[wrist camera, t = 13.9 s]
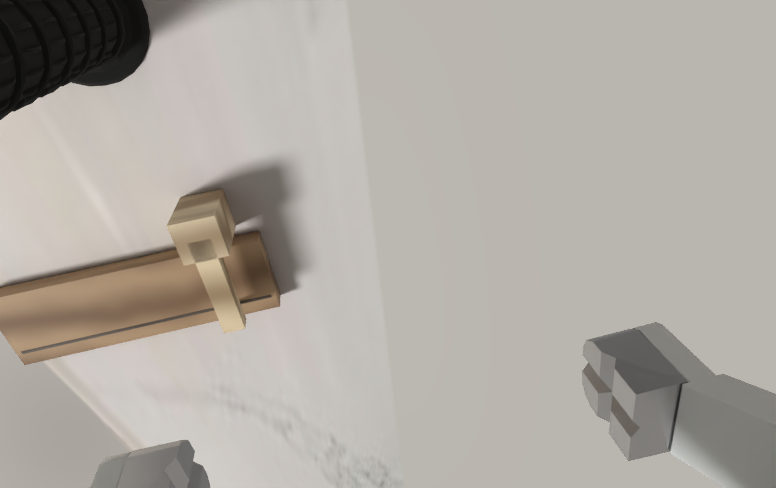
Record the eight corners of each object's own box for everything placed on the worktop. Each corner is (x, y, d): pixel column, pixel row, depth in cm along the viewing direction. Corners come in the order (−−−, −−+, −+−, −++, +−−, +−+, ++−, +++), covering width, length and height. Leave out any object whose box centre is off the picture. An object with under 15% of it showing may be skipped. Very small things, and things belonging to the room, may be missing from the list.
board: (-9, 289, 49) (-21, 302, 47) (259, 230, 50) (257, 240, 49) (33, 351, 53) (24, 365, 51) (280, 295, 54) (279, 306, 53)
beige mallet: (180, 197, 48) (166, 225, 42) (222, 188, 48) (214, 215, 43) (221, 299, 54) (213, 335, 48) (258, 291, 54) (255, 325, 49)
